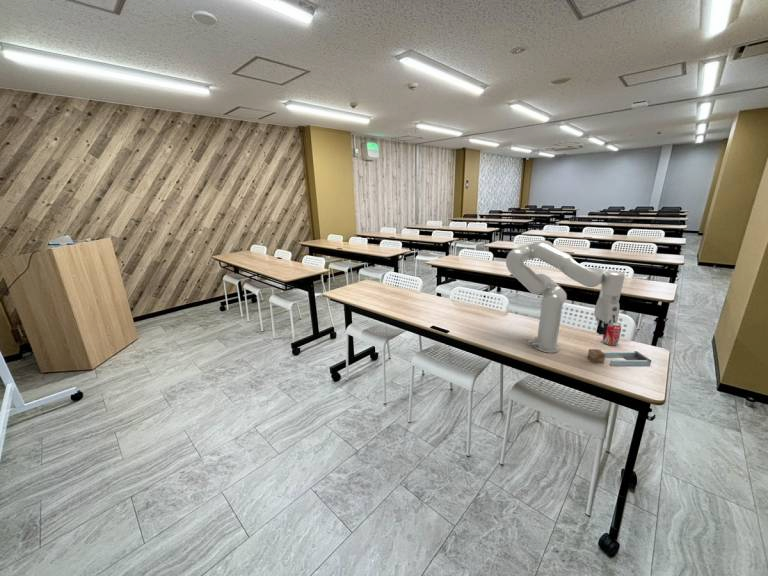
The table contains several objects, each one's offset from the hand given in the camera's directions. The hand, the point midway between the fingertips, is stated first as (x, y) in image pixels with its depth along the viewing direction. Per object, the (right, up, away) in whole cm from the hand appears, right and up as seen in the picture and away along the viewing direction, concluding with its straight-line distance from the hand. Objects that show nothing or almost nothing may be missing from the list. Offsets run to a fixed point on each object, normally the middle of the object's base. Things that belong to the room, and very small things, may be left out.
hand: (600, 333), depth 143 cm
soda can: (+20, -9, +21) cm, 31 cm away
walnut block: (0, -14, +4) cm, 15 cm away
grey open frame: (+14, -14, +3) cm, 20 cm away
